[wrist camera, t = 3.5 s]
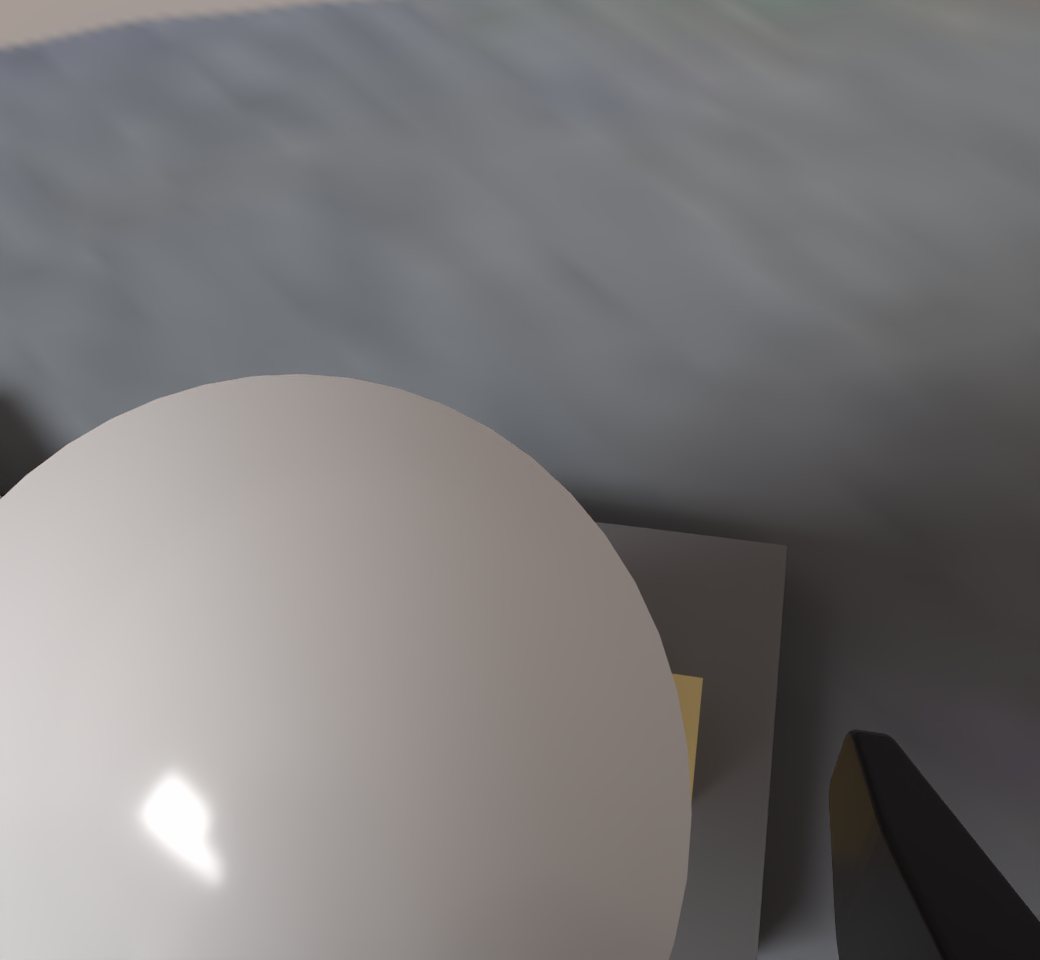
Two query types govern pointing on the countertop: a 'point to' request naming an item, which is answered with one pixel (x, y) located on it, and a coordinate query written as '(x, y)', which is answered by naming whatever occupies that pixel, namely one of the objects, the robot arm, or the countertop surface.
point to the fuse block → (717, 715)
